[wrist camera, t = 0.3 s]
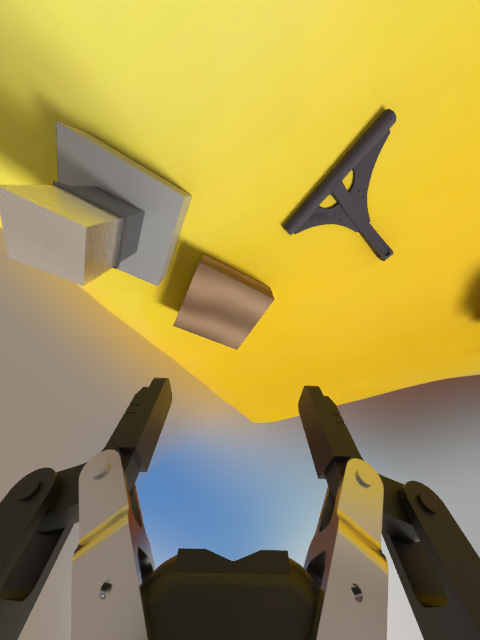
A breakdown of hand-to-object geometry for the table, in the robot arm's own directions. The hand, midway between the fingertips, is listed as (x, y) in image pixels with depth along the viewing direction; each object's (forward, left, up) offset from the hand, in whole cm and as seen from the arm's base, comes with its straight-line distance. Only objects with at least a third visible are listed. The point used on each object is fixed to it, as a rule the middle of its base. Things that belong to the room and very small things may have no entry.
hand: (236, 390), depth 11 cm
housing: (+1, -15, -18) cm, 23 cm away
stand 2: (+7, +1, -22) cm, 23 cm away
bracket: (-13, +12, -23) cm, 29 cm away
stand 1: (+1, -15, -22) cm, 26 cm away
